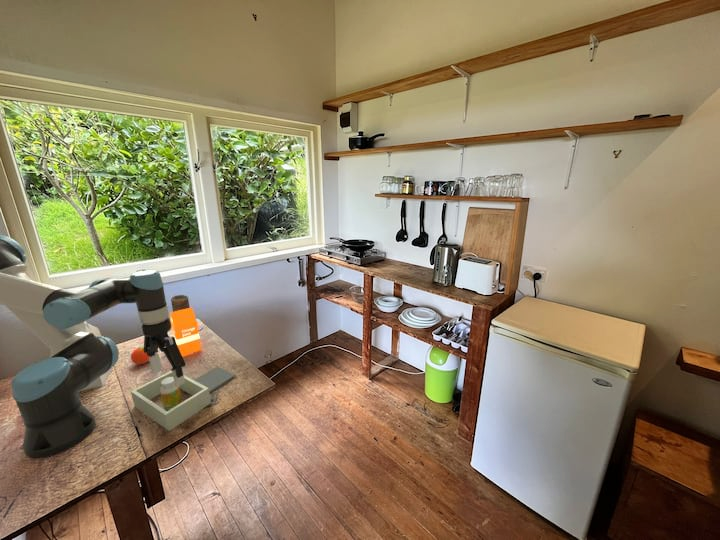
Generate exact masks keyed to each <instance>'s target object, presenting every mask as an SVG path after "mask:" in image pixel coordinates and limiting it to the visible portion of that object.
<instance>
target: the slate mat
mask: <svg viewBox="0 0 720 540" xmlns="http://www.w3.org/2000/svg"><path fill="white" fill-rule="evenodd" d="M234 376H236V374H235V373H232V372H230V371H228V370H226V369H224V368H221V367H219V366H216V367H214V368H213V369H210V370H209V371H207V372H205V373H204V374H202V375H200V376H198V377H197V378H195V379H193V380H194V381H196V382H198V383H200V384H202V385H204V386H205V387H207V388H209V393H213V392H214V391H215V390H218V388H220V387H222V386H223V385H225V384H226V383H228V382H229V381H231V380H233V379H234V378H235V377H234ZM233 377H234V378H233ZM232 378H233V379H232ZM230 379H231V380H230Z"/></svg>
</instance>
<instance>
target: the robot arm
mask: <svg viewBox="0 0 720 540" xmlns="http://www.w3.org/2000/svg"><path fill="white" fill-rule="evenodd" d="M26 260H27V255H26V252H25V249H24V248H23V246H22V245H21V244H19V243H18V241H16V240H15V239H13V238H12V237H9V236H7V235H3V234H0V305H1V306H5V307H6V308H7V309H8V310H9V311H10V312H11V313H12V314H13V315H14V316H15V317H16V318H17V319H19V321H20V322H22V323H23V325H24V326H26V328H27V329H28V330H30V331H31V332H32V333H33V334H34V335H35V336H36V337H37V338H38V339H39V340H40V341H41V342H42V343H44V344H45V346H46V347H47V348H49V350H50V349H51V351H50V354H49V357H48V358H45V359H42V360H40V361H39V362H37V361H36V362H34V363H32V364H29V365H28V366H26V367H25V368H23V369H22V370H20V371H19V372H18V373H17V374H16V375H15V376H14V377H13V378H12V380H11V383H10V388H11V391H12V392H11V394H12V398H13V400H14V401H15V403H16V405H17V408H18V410H19V411H18V412H19V413H20V417H21V418H22V421H23V423H24V425H25V430H24V434H23V435H24V437H23V442H22V443H23V444H22V448H23V452H24V454H25V456H26V457H28V458H30V459H43V458H48V457H52V456H54V455H58V454H60V453H63V452H65V451H68V450H69V449H71V448H73V447H74V446H77V445H78V444H79V443H81V442H82V441H83V440H85V439H86V438H87V437H88V436H89V435H90V434H91V433H92V432H93V431H94V429H95V427H96V424H97V423H96V422H97V421H96V418H95V415H94V414H93V413H92V412H91V411H90V410H89V409H88V408H86V407H85V406H84V405H83V404H82V401H81V398H80V394H79V393H80V392H81V391H83V390H82V389H84V388H85V387H87V386H88V385H89V384H91V383H92V382H93V381H95V380H96V379H97V378H99V377H100V376H102V375H103V374H105V373H106V372H108V371H109V370H110V369H111V368H113V367H114V366H115V365H116V364H117V363H118V361H119V355H120V351H119V348H118V346H117V344H116V342H114V341H113V340H112V339H111V338H109V337H106V336H103V335H101V336H99V337H96V336H95V335H94V334H93V333H92V332H83V331H82V330H81V329H80V328H79V327H78V326H77V324H80V323H82V322H84V321H86V322H87V321H88V320H89V319H91V318H93V317H96V316H97V315H99V314H101V313H104V312H105V311H107V310H109V309H112V308H113V307H116V306H118V305H120V304H121V305H122V304H135V306H136V309H137V314H138V318H139V322H140V323H141V324H140V325H141V329H142V333H143V335H144V336H143V337H144V338H143V347H144V353H147V355H148V356H149V364H150V367H151V368H150V369H151V372H152V375H155V374H158V373H160V372H162V371H163V368H162V363H161V359H160V355H159V352H162V353H163V354H164V356H165V357H166V359H167V360H168V362H169V363H170V366H171V367H172V368H171V369H170V371H172V374H173V378H174V383H175V387H178V386H180V385H182V384H183V383H185V380H184V371H183V368H184V367H185V366H187V364H186V362H185V359H184V356H183V357H182V355H181V353H180V350H179V348H178V346H177V344H176V341H175V338H174V337H173V336H170V335H169V333H168V332H169V331H170V330H172V326H171V321H170V312H169V305H168V304H167V300H166V295H165V294H166V293H165V287H164V282H163V280H162V276H161V274H160V272H159V271H158V270H155V269H154V270H153V269H151V270H150V269H148V270H140V271H137V272H134V273H131V275H129V278H113V277H108V278H107V277H106V278H100V279H95V280H93V281H92V283H91V284H90V285H89V286H88V287H86V288H84V289H82V290H80V291H74V290H70V289H66V288H61V287H58V286H54V285H50V284H46V283H43V282H38V281H36V280H35V281H34V280H32V279H31V277H29V275H28V274H27V273H26V271H27V267H28V266H27V264H26Z"/></svg>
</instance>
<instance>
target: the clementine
mask: <svg viewBox="0 0 720 540" xmlns="http://www.w3.org/2000/svg"><path fill="white" fill-rule="evenodd" d="M130 360H131V361H132V363H133V364H136V365H143V364H146V363H147V362H148V361H149V356H148V355H147V353H144V346H140V347H137V348H135V349H134V350H133V351H132V352H131V355H130ZM149 362H150V361H149Z"/></svg>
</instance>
